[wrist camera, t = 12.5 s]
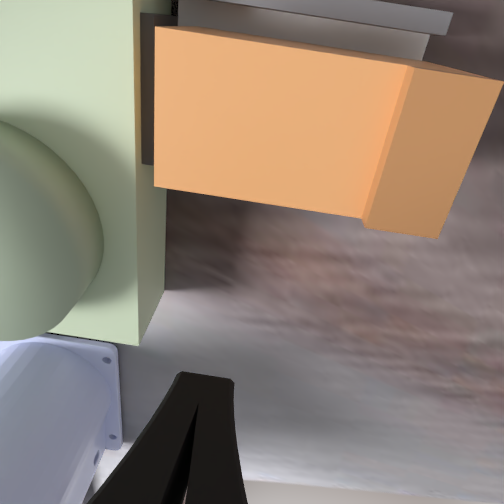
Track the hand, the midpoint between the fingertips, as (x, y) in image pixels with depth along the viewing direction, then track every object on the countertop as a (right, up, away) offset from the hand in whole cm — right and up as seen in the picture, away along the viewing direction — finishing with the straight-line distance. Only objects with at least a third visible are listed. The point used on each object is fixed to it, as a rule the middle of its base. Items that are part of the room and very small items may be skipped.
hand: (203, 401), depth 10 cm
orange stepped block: (+3, +9, +5) cm, 11 cm away
